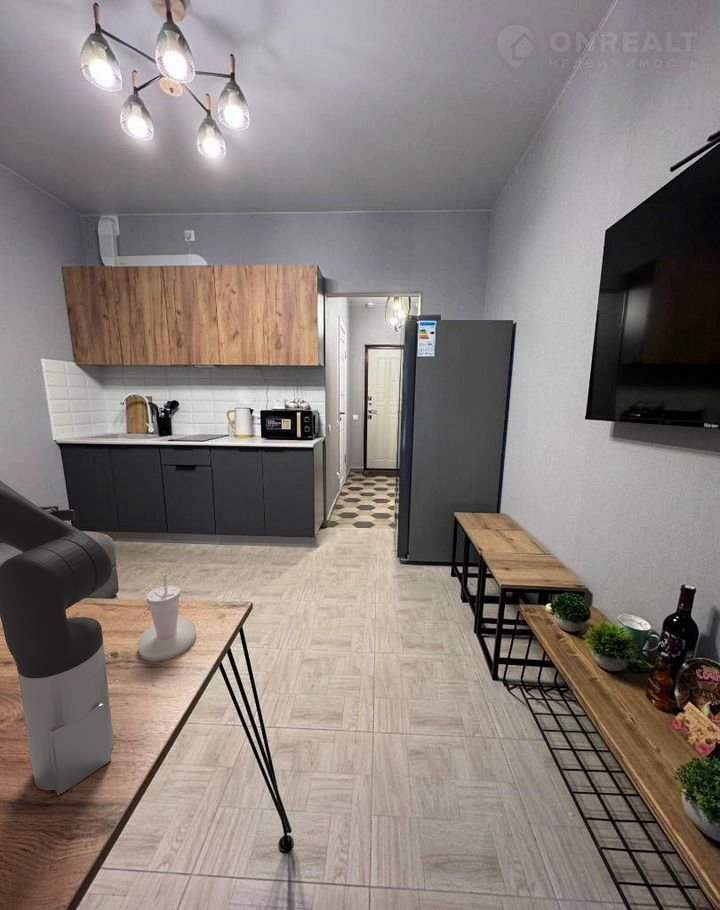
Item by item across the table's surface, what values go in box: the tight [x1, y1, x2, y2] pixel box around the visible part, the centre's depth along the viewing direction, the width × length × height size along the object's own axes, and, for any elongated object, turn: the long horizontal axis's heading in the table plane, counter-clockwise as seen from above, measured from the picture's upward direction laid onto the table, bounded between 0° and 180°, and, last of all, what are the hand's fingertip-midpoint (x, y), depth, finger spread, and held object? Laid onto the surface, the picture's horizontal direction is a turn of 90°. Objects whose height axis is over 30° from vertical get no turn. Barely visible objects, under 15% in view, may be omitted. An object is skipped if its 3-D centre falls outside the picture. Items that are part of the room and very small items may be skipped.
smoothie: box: [146, 573, 182, 640], centre depth 76 cm, size 6×6×14 cm
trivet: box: [137, 618, 197, 662], centre depth 77 cm, size 11×11×2 cm
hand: (59, 521), depth 70 cm, fingers open, 8 cm apart
